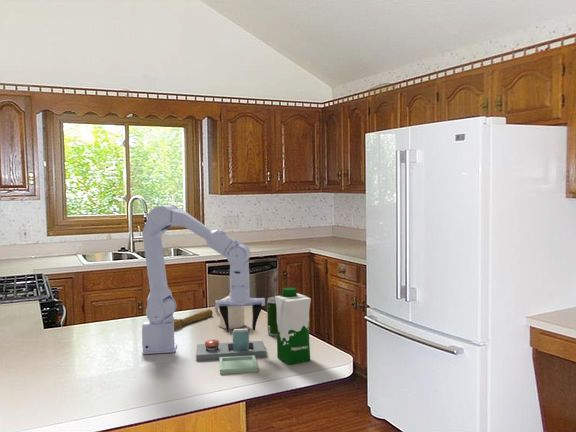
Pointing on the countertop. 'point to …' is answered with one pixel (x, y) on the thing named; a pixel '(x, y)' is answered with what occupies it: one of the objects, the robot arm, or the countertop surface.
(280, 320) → the milk carton
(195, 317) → the tap handle
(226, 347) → the housing
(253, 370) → the tray
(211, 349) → the plunger
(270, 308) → the beer can
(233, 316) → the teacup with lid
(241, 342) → the rotary knob
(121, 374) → the countertop surface
